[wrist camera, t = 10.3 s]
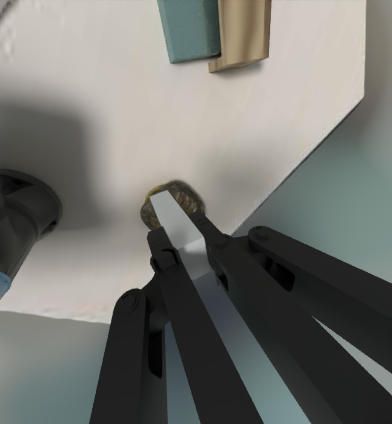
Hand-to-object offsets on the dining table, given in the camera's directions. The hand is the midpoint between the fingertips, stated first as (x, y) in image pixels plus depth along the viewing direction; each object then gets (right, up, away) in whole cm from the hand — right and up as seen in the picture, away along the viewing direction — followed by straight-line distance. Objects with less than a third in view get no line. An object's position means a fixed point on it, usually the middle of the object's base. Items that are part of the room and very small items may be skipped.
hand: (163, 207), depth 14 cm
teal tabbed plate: (+3, +36, +18) cm, 40 cm away
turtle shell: (-4, 0, +36) cm, 36 cm away
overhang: (+9, +38, +20) cm, 44 cm away
